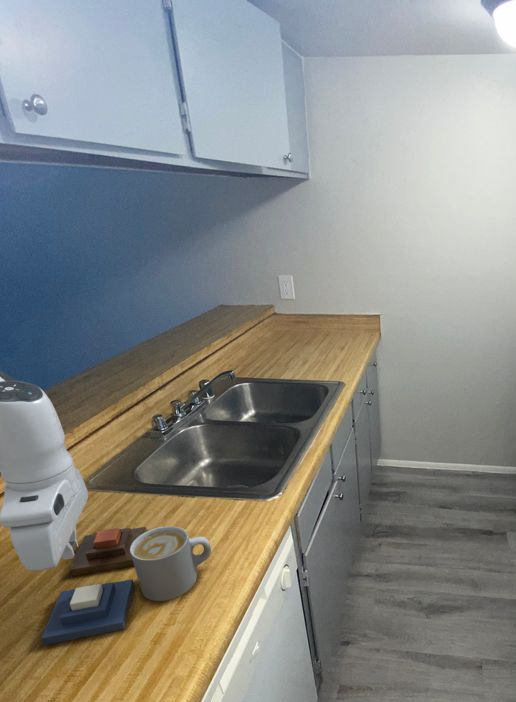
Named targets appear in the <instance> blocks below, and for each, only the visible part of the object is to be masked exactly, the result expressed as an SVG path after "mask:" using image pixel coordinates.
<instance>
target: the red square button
mask: <svg viewBox="0 0 516 702" xmlns="http://www.w3.org/2000/svg"><path fill="white" fill-rule="evenodd" d="M120 529H121V528H120V527H114V528H109V529H102V530H98V531H97V532H96V533H97V535H96V538H95V540H94V546H95V549H97V548H104V547H110V546H117V545H118V543H119V540H120V537H121V532H120Z"/></svg>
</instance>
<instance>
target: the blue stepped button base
mask: <svg viewBox="0 0 516 702" xmlns="http://www.w3.org/2000/svg"><path fill="white" fill-rule="evenodd" d="M100 584H101V585H102V588H103V593H102V596H101V600H100V603H99V606H96V607H91V608H85V609H80V610H75V611H72V609H71V607H70V602H71V599H72V597H73V594H74V592H75V589H76V588H71V589H68V590H63V591H60V592H59V596H58V598H57V599H56V602H55V605H54V606H53V607H54V608H53V610H52V612H51V615H50V617H49V619H48V622H47V624H46V627H45V629H44V630H43V633H42V636H41V638H40V639H41V641H42V643H43V645H44V646H48V645H53V644H58V643H63V642H68V641H71V640H72V641H73V640H78V639H82V638H87V637H92V636H96V635H103V634H108V633H113V632H116V631H117V632H118V631H122V630H125V627H126V623H127V618H128V616H129V610H130V607H131V602H132V598H133V594H134V591H135V590H134V589H135V582H134V579H133V578H131V579H126V580H120V581H112V582H107V583H100Z"/></svg>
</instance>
